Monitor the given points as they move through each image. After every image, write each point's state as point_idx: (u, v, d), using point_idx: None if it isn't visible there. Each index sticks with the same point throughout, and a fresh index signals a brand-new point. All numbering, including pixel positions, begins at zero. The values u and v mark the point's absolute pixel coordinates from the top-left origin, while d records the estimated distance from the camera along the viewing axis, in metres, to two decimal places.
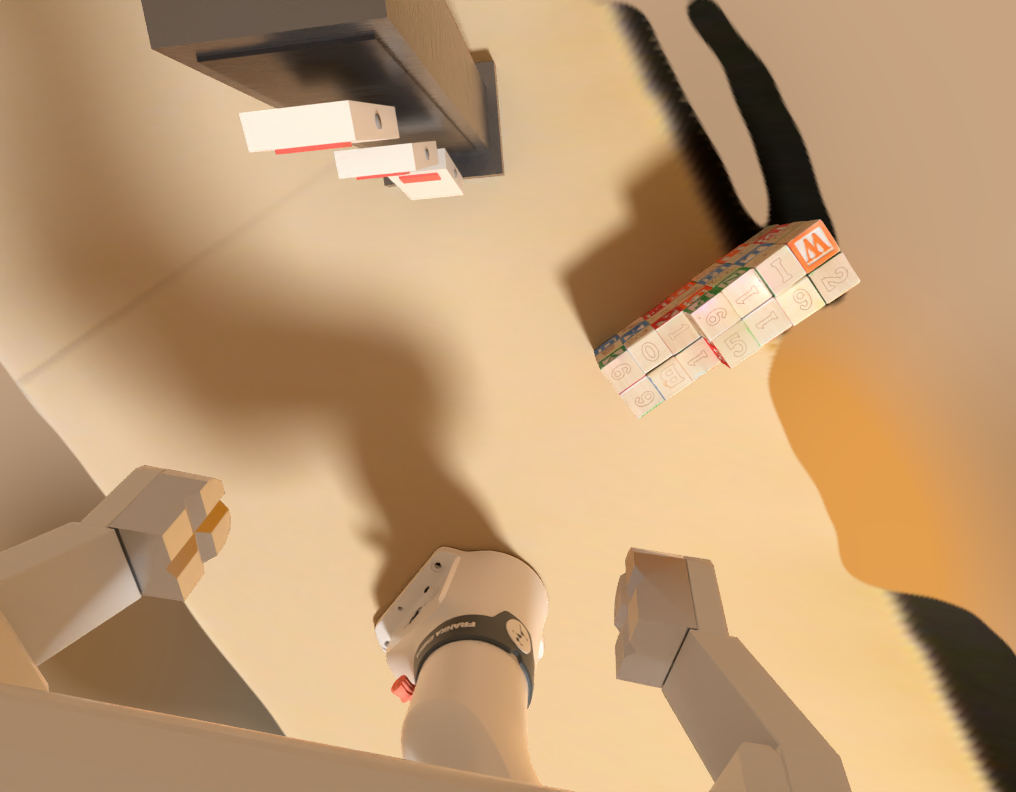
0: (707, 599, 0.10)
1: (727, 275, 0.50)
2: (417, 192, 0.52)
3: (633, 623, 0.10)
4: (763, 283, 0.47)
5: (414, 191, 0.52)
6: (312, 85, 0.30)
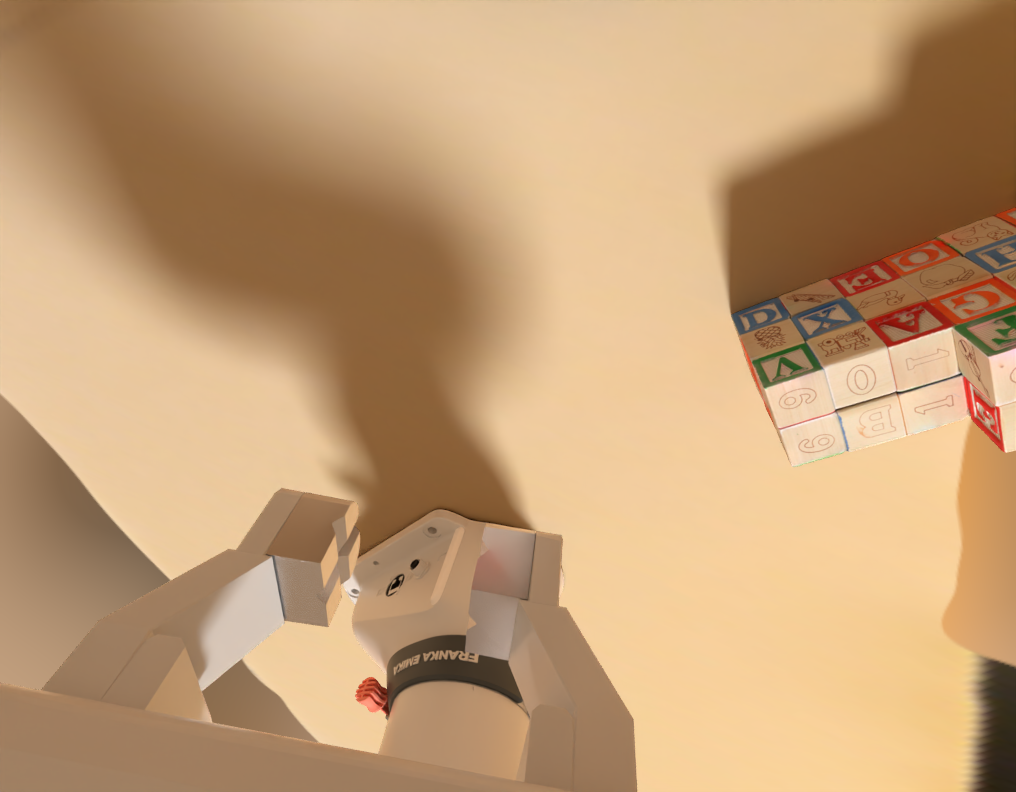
0: (546, 572, 0.10)
1: None
2: None
3: (471, 595, 0.10)
4: None
5: None
6: None
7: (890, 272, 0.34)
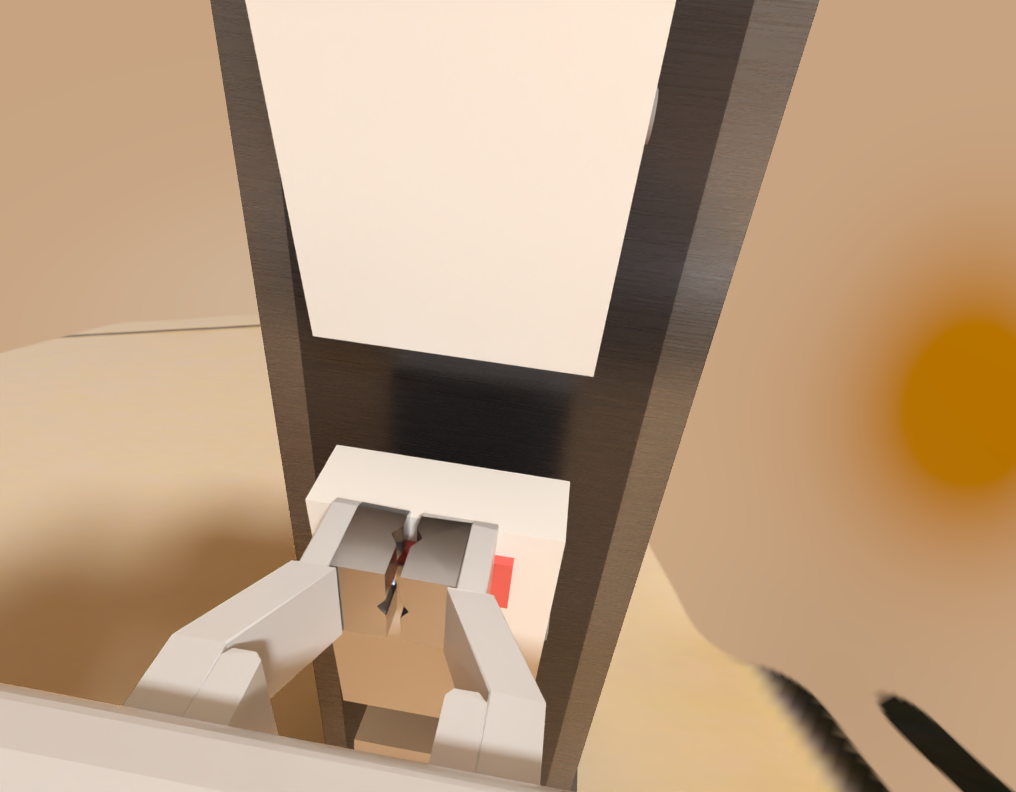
0: (477, 560, 0.10)
1: None
2: None
3: None
4: None
5: None
6: None
7: None
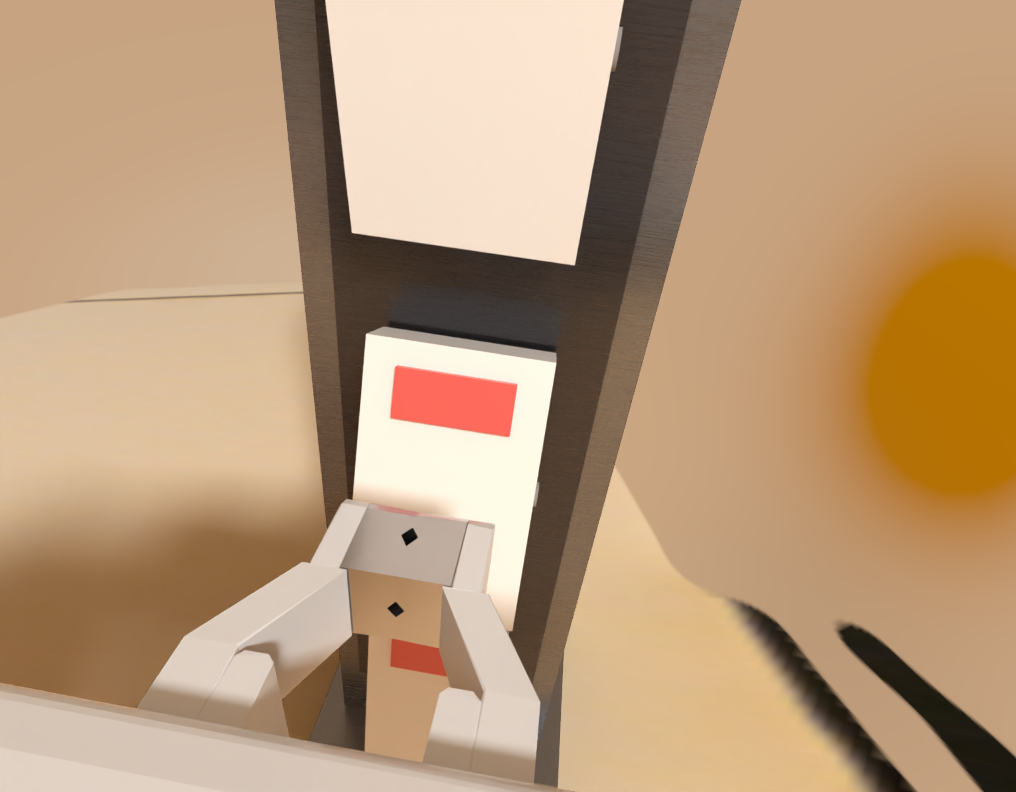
0: (473, 559, 0.10)
1: None
2: (392, 731, 0.23)
3: None
4: None
5: (389, 721, 0.23)
6: None
7: None
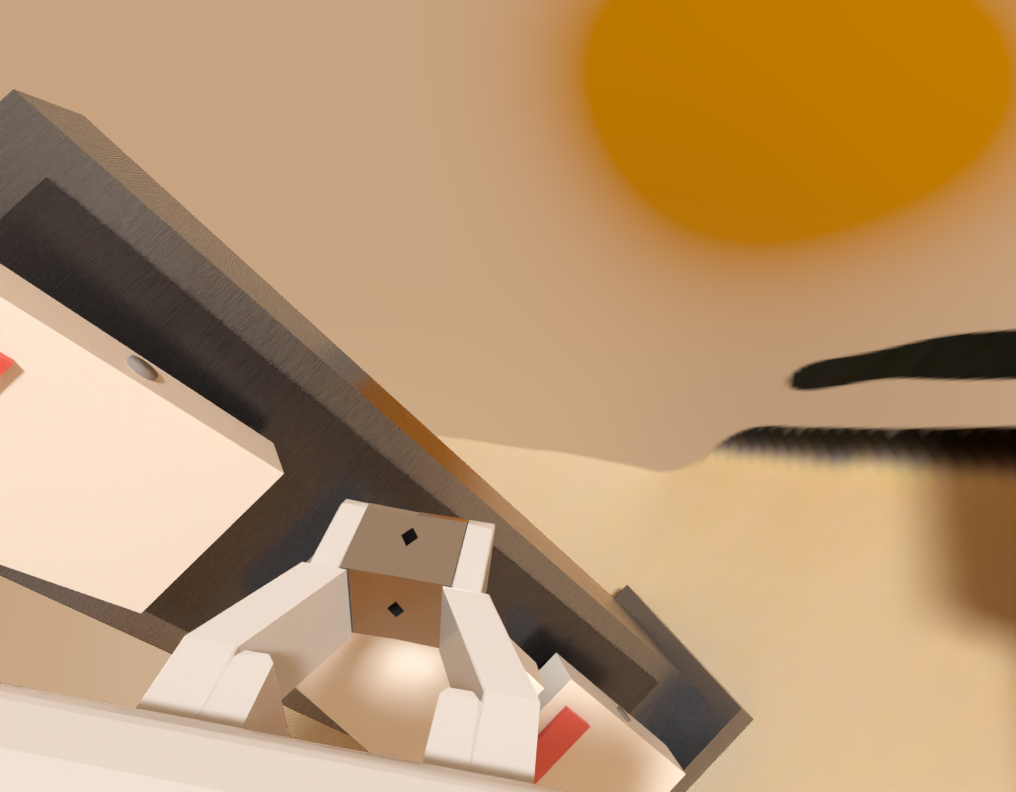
0: (472, 560, 0.10)
1: None
2: None
3: None
4: None
5: None
6: None
7: None
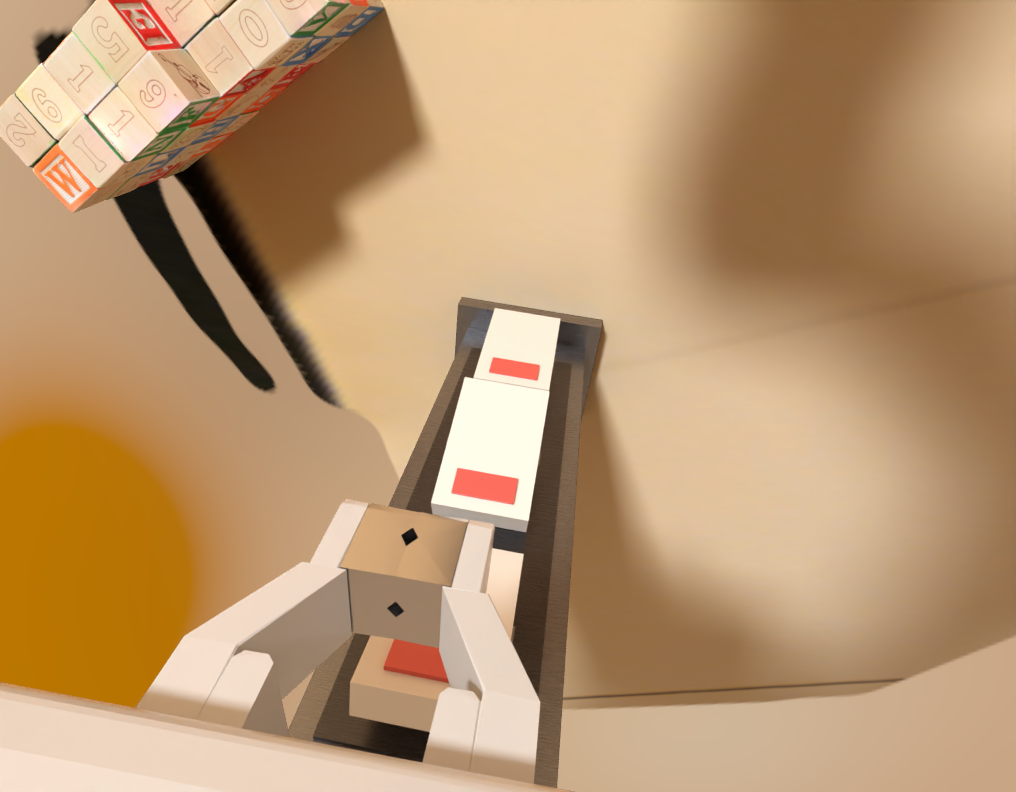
0: (472, 559, 0.10)
1: (175, 141, 0.36)
2: (542, 333, 0.42)
3: None
4: (106, 137, 0.34)
5: (544, 338, 0.41)
6: None
7: (277, 85, 0.40)
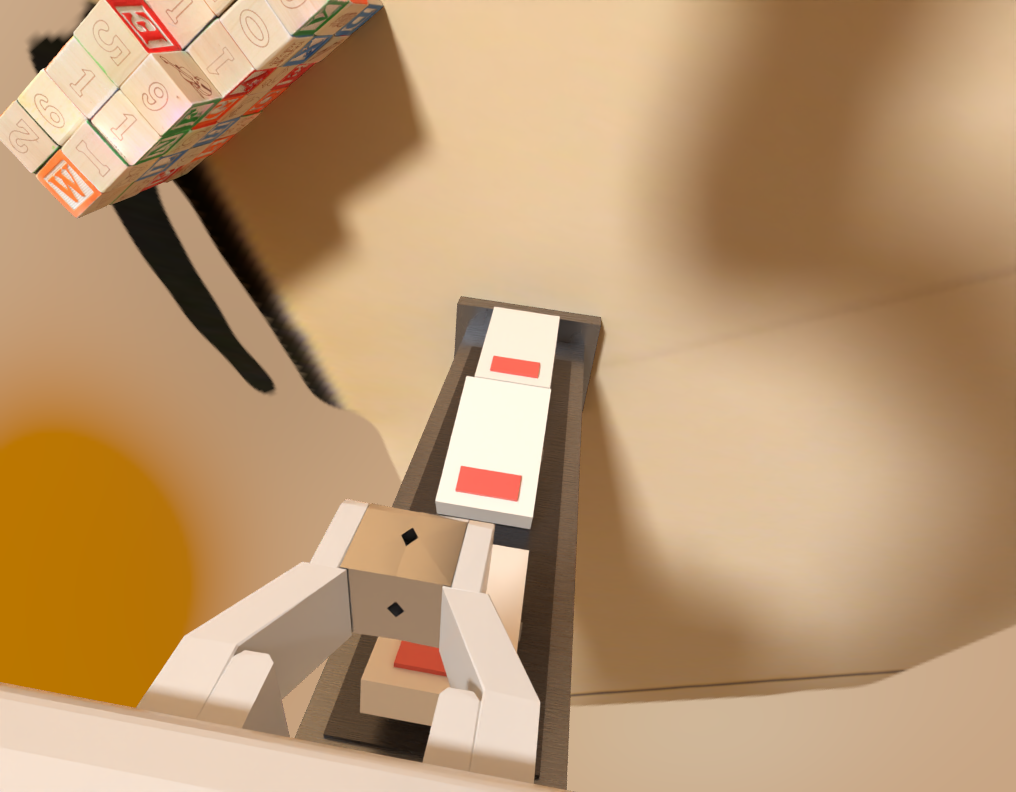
0: (473, 559, 0.10)
1: (178, 144, 0.36)
2: (542, 331, 0.42)
3: None
4: (109, 141, 0.34)
5: (544, 336, 0.41)
6: None
7: (278, 86, 0.40)
